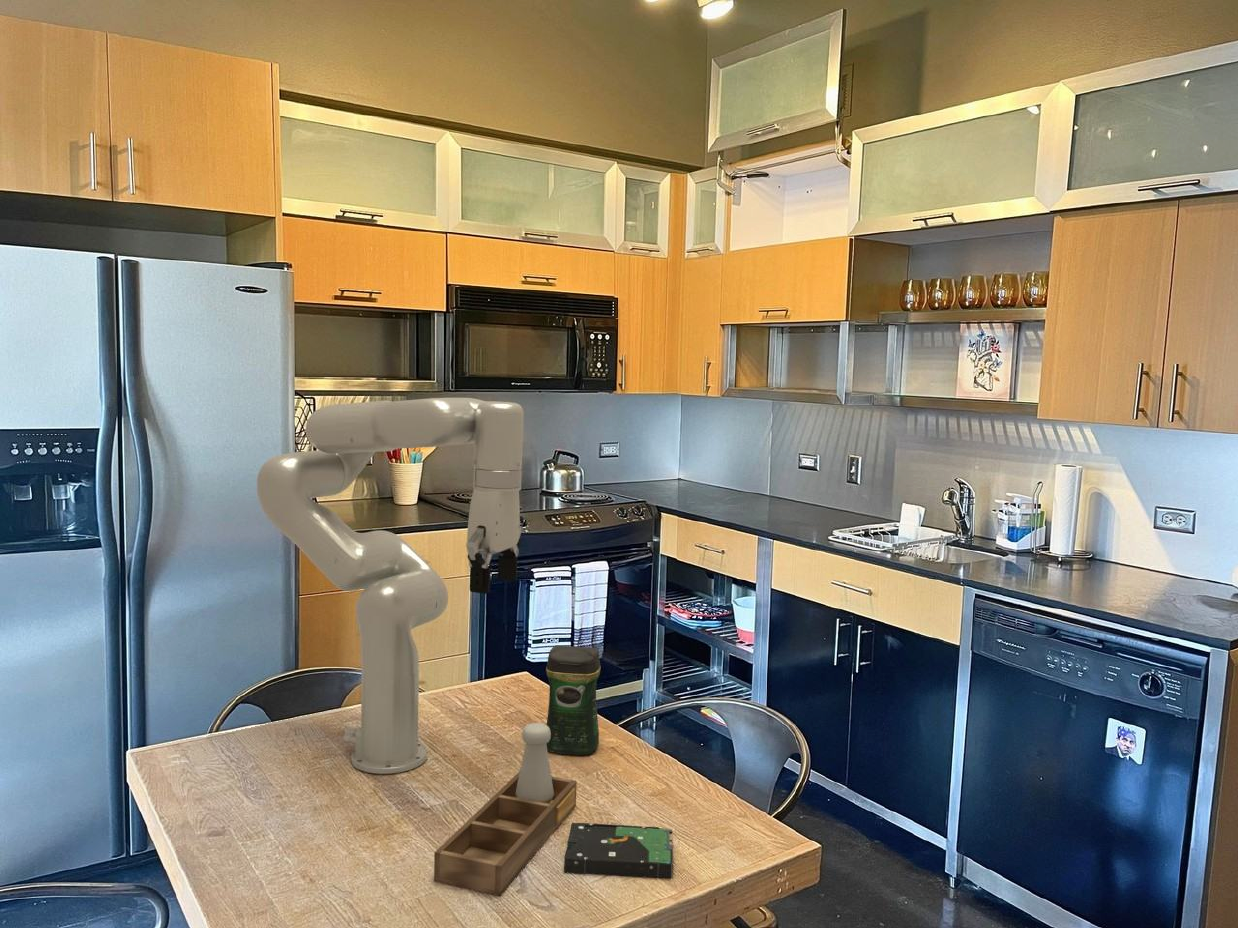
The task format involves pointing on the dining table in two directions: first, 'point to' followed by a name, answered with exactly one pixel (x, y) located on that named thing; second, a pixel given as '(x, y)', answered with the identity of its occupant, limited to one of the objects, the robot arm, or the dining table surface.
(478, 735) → the dining table surface
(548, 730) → the salt shaker
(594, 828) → the disk drive
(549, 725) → the coffee jar
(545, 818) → the wooden compartment tray
